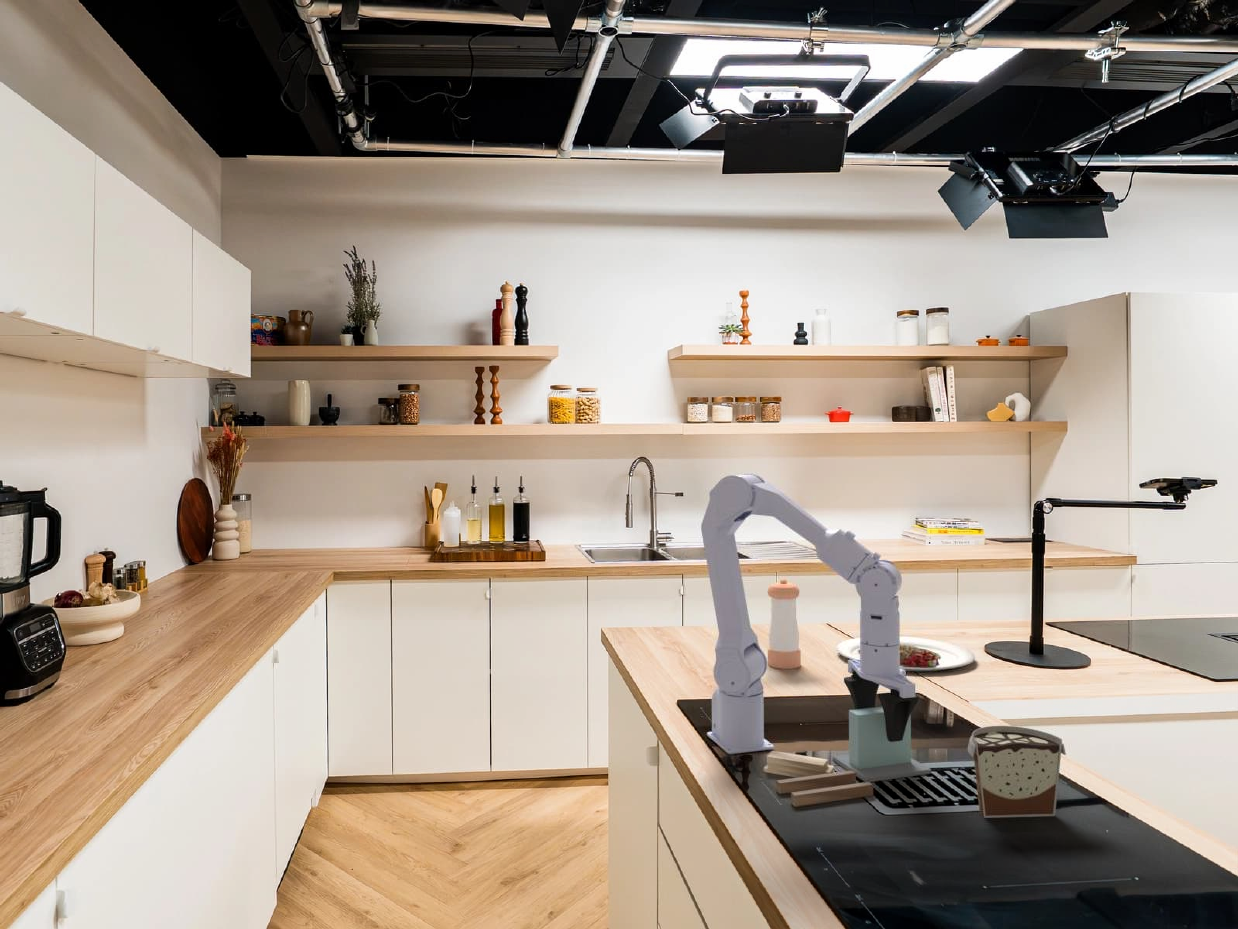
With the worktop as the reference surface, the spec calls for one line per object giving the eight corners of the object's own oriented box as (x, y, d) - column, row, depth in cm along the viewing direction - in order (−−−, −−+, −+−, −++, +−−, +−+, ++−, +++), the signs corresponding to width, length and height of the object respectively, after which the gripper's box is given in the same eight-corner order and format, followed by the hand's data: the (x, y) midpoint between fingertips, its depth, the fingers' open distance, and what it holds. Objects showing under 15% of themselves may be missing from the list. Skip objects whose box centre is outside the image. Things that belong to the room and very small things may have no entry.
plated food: (892, 638, 208) (892, 625, 208) (1002, 662, 182) (1002, 647, 182) (809, 655, 191) (809, 641, 191) (918, 684, 166) (918, 668, 166)
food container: (1040, 795, 111) (1039, 723, 111) (1066, 815, 105) (1065, 739, 105) (951, 798, 111) (951, 725, 111) (972, 818, 105) (972, 741, 105)
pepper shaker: (798, 660, 185) (797, 577, 185) (802, 669, 178) (801, 582, 178) (766, 660, 186) (765, 577, 186) (769, 668, 178) (768, 582, 178)
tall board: (849, 763, 122) (848, 710, 122) (900, 756, 125) (900, 704, 124) (858, 769, 120) (858, 715, 120) (911, 762, 122) (910, 709, 122)
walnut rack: (776, 791, 114) (776, 780, 114) (851, 780, 117) (851, 770, 117) (794, 806, 109) (794, 795, 109) (873, 795, 112) (872, 784, 112)
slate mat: (832, 760, 125) (832, 756, 125) (894, 752, 128) (894, 748, 128) (865, 782, 116) (865, 778, 116) (931, 773, 119) (931, 769, 119)
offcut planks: (769, 767, 123) (769, 749, 123) (835, 778, 119) (835, 760, 119) (763, 774, 121) (763, 756, 121) (831, 785, 116) (831, 767, 116)
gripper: (933, 651, 116) (933, 745, 116) (875, 630, 130) (875, 714, 130) (890, 655, 114) (891, 751, 114) (836, 633, 128) (836, 718, 128)
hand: (880, 732), depth 122 cm, fingers open, 7 cm apart
